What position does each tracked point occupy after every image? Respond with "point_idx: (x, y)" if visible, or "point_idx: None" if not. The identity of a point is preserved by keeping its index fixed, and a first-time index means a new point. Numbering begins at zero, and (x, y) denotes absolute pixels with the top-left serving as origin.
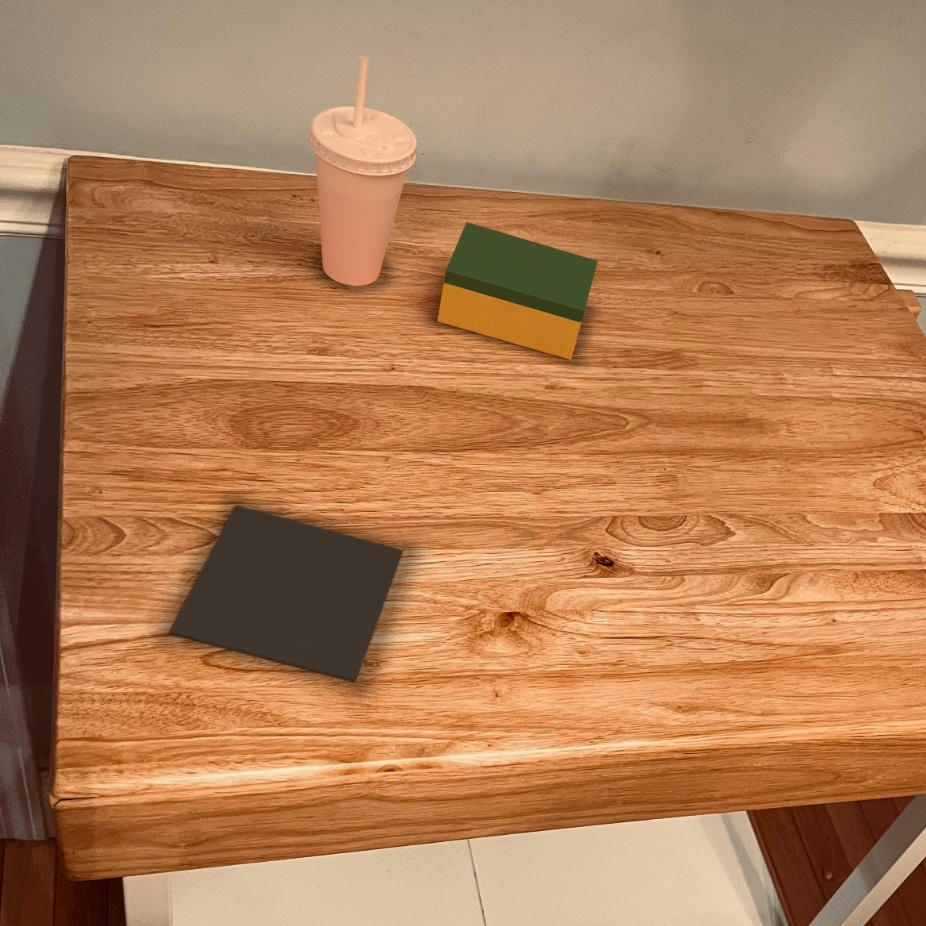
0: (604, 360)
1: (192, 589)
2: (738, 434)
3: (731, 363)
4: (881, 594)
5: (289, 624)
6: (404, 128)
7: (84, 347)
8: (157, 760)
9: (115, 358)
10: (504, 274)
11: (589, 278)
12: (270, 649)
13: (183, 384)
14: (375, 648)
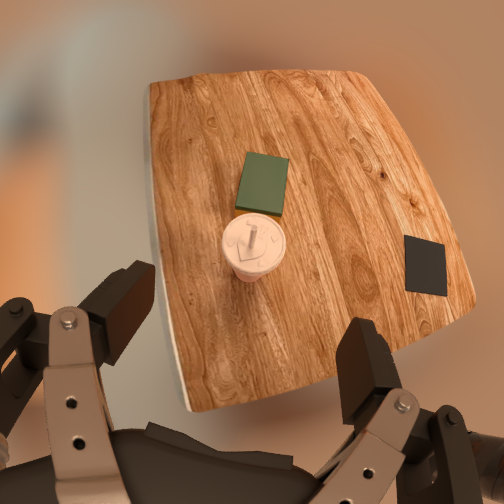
0: None
1: (435, 294)
2: (304, 126)
3: (262, 122)
4: (358, 108)
5: (437, 264)
6: (237, 220)
7: None
8: (470, 288)
9: None
10: (275, 188)
11: (263, 155)
12: (444, 268)
13: None
14: (434, 240)
